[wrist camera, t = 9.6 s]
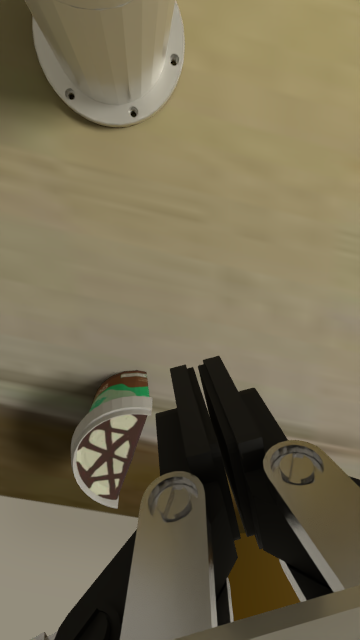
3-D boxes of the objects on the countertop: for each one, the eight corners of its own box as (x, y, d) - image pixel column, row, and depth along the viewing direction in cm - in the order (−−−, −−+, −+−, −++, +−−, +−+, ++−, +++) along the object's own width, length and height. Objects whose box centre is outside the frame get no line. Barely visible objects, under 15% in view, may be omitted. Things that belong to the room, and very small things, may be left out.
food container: (98, 347, 37) (84, 394, 28) (150, 361, 38) (153, 410, 29) (73, 434, 40) (53, 502, 31) (121, 444, 42) (115, 512, 32)
